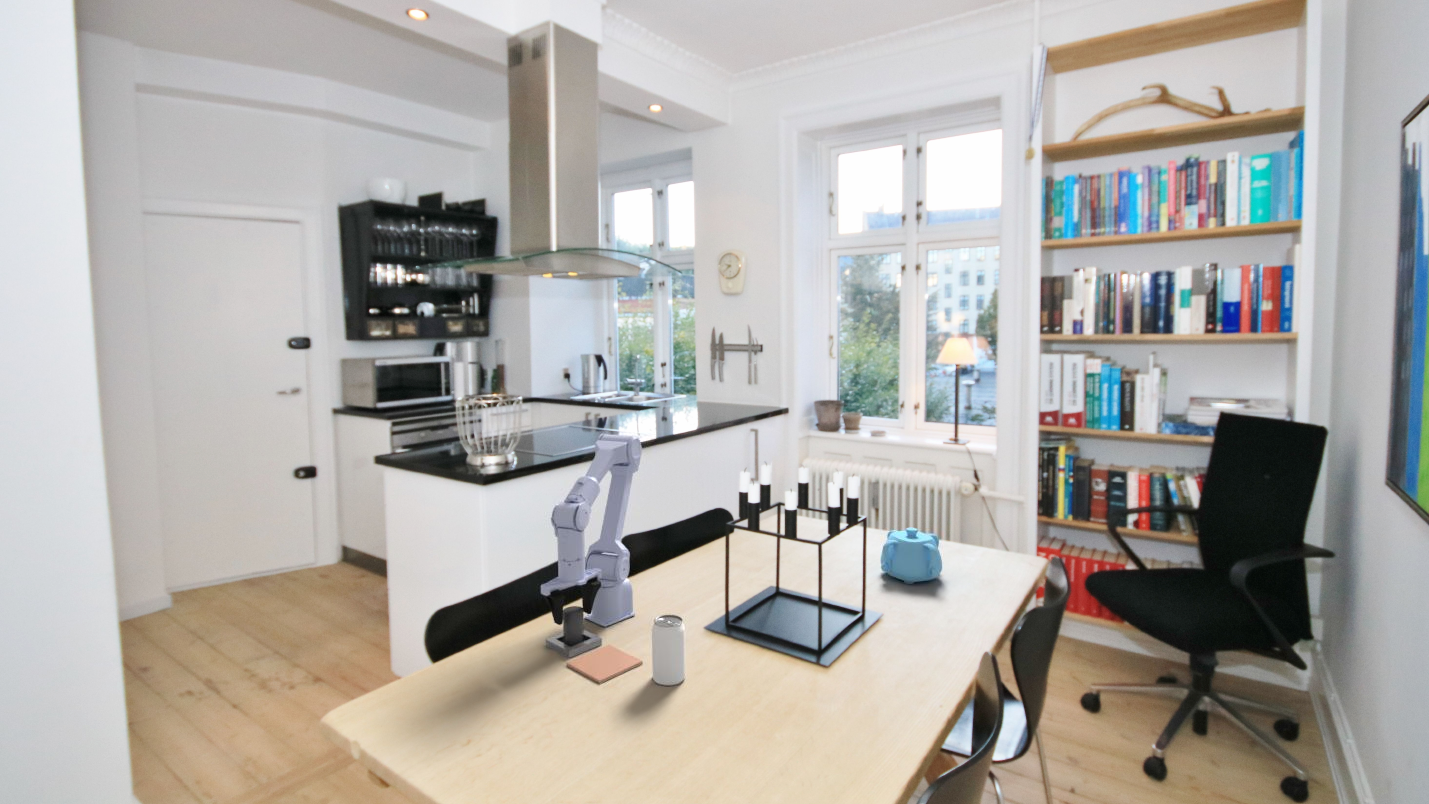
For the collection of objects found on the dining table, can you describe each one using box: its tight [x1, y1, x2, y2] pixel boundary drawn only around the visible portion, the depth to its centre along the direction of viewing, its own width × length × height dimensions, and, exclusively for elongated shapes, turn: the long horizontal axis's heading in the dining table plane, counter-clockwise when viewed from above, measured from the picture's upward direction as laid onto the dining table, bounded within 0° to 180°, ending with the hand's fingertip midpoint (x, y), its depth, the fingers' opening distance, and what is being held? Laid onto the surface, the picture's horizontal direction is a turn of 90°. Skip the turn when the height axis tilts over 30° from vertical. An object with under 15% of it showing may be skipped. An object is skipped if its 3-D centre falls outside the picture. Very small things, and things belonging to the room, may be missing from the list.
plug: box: [562, 605, 585, 647], centre depth 155 cm, size 4×4×8 cm
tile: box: [566, 644, 643, 684], centre depth 146 cm, size 11×11×1 cm
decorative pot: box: [880, 527, 943, 585], centre depth 195 cm, size 16×16×14 cm
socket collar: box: [545, 629, 603, 659], centre depth 155 cm, size 9×9×2 cm
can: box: [651, 614, 686, 687], centre depth 140 cm, size 6×6×12 cm
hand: (573, 617), depth 155 cm, fingers open, 7 cm apart
